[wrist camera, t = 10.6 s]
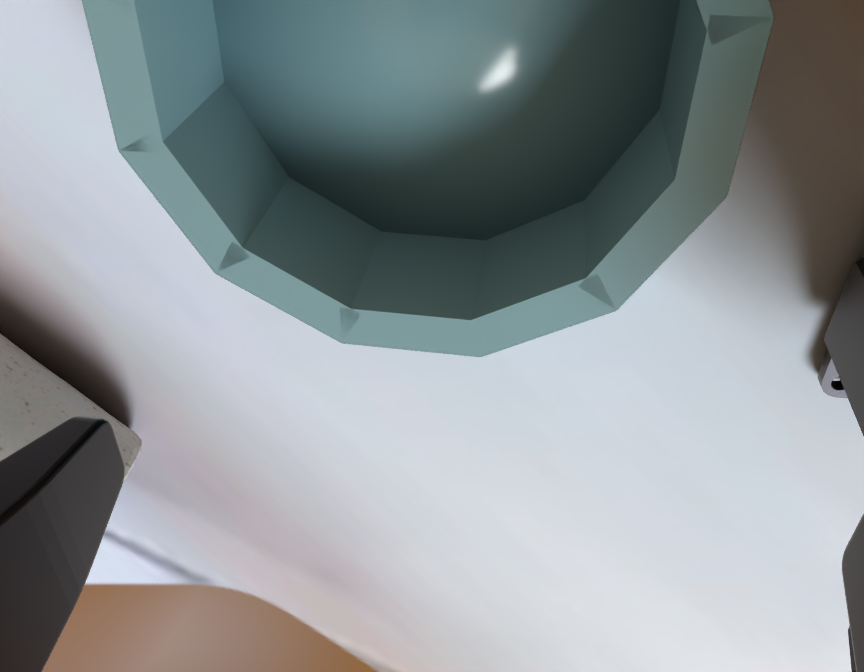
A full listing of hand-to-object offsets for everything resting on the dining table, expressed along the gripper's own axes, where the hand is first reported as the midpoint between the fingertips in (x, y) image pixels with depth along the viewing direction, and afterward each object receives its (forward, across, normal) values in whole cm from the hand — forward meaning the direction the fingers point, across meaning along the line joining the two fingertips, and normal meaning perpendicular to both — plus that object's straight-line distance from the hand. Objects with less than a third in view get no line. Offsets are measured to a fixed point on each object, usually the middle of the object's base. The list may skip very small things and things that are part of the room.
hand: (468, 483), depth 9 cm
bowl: (+12, +2, -2) cm, 12 cm away
